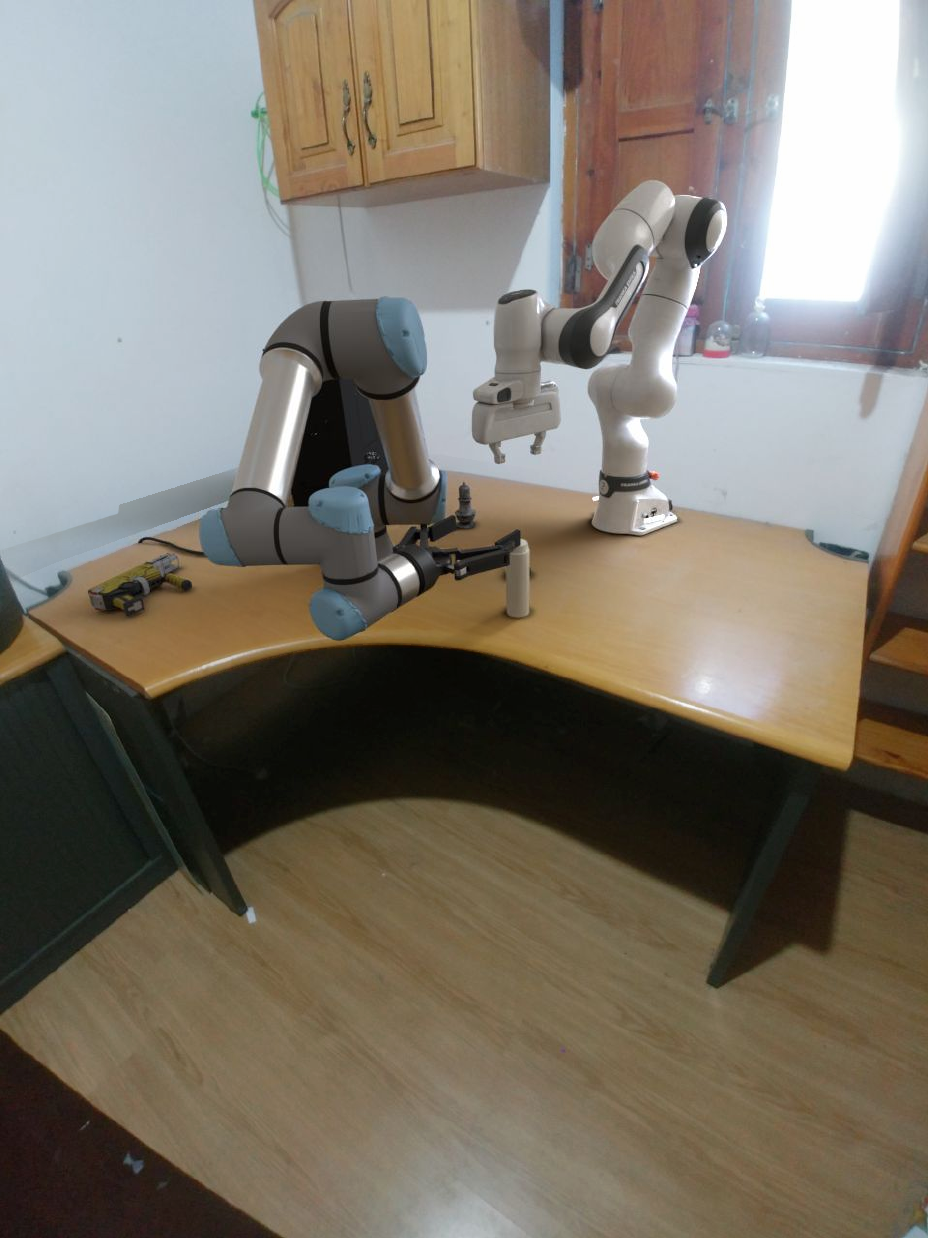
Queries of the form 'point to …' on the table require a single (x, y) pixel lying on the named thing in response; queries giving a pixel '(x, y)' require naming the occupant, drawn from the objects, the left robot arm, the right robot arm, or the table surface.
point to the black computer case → (335, 439)
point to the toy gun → (136, 585)
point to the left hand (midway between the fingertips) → (485, 529)
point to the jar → (518, 582)
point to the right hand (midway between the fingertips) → (518, 458)
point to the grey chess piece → (465, 508)
